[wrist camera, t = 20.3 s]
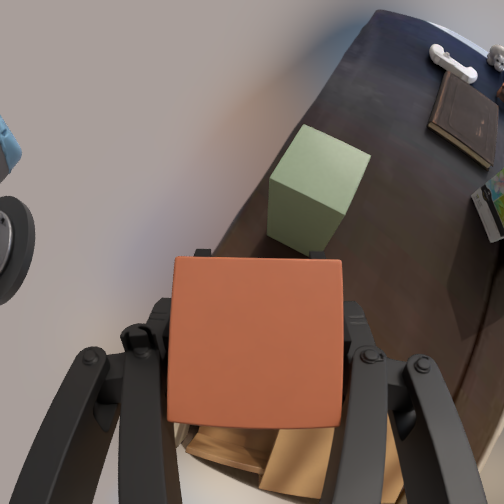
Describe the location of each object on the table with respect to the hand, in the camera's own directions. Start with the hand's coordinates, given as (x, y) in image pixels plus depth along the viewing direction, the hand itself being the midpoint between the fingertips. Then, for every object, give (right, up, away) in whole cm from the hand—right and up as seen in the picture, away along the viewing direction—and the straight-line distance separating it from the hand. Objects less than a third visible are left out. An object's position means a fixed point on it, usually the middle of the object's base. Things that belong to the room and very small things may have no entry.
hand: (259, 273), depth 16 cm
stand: (+7, +5, +29) cm, 30 cm away
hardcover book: (+47, +31, +36) cm, 66 cm away
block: (0, -4, +1) cm, 4 cm away
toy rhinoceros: (+73, +57, +43) cm, 102 cm away
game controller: (+50, +48, +41) cm, 81 cm away
